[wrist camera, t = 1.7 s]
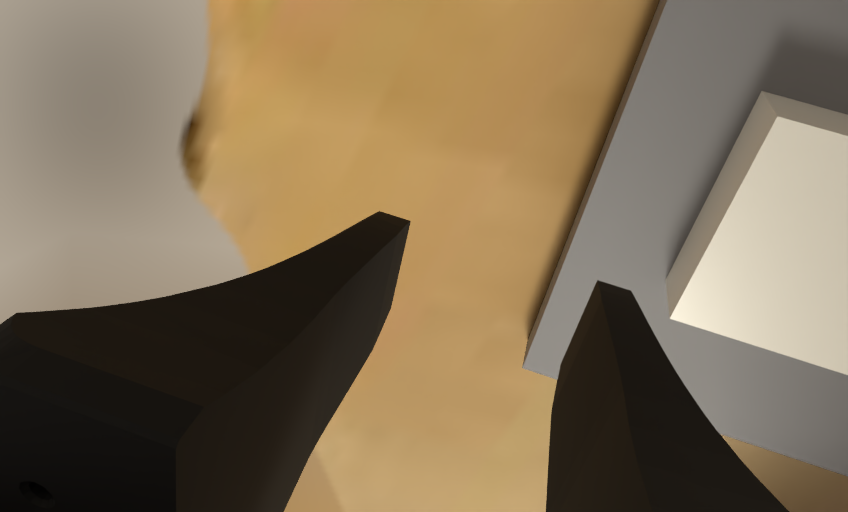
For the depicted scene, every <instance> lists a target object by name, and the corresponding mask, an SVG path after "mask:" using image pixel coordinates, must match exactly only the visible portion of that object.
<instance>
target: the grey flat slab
mask: <svg viewBox="0 0 848 512" xmlns="http://www.w3.org/2000/svg"><path fill="white" fill-rule="evenodd" d="M761 91H764V92H768V93H771V94H775V95H779V96H782V97H786V98H789V99H793V100H796V101H800V102H804V103H807V104H811V105H814V106H818V107H822V108H825V109H829V110H832V111H836V112H840V113H843V114H847V115H848V0H660V1H659V4H658V7H657V9H656V12H655V14H654V17H653V19H652V22H651V25H650V27H649V30H648V32H647V35H646V38H645V40H644V43H643V45H642V48H641V50H640V53H639V56H638V58H637V61H636V63H635V66H634V68H633V71H632V74H631V76H630V79H629V81H628V84H627V86H626V89H625V92H624V94H623V97H622V99H621V102H620V104H619V107H618V110H617V112H616V115H615V117H614V120H613V123H612V125H611V128H610V130H609V133H608V135H607V138H606V141H605V143H604V146H603V148H602V151H601V153H600V156H599V159H598V161H597V164H596V166H595V169H594V171H593V174H592V177H591V179H590V182H589V184H588V187H587V189H586V192H585V195H584V197H583V200H582V202H581V205H580V208H579V210H578V213H577V215H576V218H575V220H574V223H573V226H572V228H571V231H570V233H569V236H568V238H567V241H566V244H565V246H564V249H563V251H562V254H561V256H560V259H559V262H558V264H557V267H556V269H555V272H554V274H553V277H552V280H551V282H550V285H549V287H548V290H547V293H546V295H545V298H544V300H543V303H542V305H541V308H540V311H539V313H538V316H537V318H536V321H535V323H534V326H533V329H532V331H531V334H530V336H529V339H528V341H527V346H526V351H525V357H524V362H523V367H522V368H524V369H527V370H530V371H533V372H536V373H539V374H542V375H545V376H548V377H551V378H554V379H557V380H558V375H559V370H560V365H561V362H562V360H563V358H564V355H565V353H566V351H567V348H568V346H569V344H570V342H571V339H572V337H573V335H574V332H575V330H576V328H577V325H578V323H579V321H580V319H581V316H582V314H583V312H584V309H585V307H586V305H587V303H588V300H589V298H590V296H591V293H592V291H593V289H594V287H595V284H596V282H597V280H599V281H602V282H605V283H608V284H612V285H615V286H618V287H621V288H624V289H627V290H631V291H632V293H633V295H634V297H635V299H636V300H637V302H638V304H639V306H640V308H641V310H642V312H643V314H644V316H645V318H646V319H647V321H648V323H649V325H650V327H651V329H652V331H653V332H654V334H655V336H656V338H657V340H658V342H659V343H660V345H661V347H662V349H663V350H664V352H665V354H666V356H667V357H668V359H669V361H670V362H671V364H672V366H673V367H674V369H675V371H676V372H677V374H678V375H679V377H680V379H681V380H682V382H683V383H684V385H685V386H686V388H687V389H688V391H689V392H690V394H691V395H692V397H693V398H694V400H695V401H696V403H697V404H698V405H699V407H700V408H701V410H702V411H703V413H704V414H705V415H706V417H707V418H708V419H709V421H710V422H711V424H712V425H713V426H714V428H715V429H716V430H717V431H718V433H719V434H722V435H725V436H728V437H731V438H734V439H737V440H740V441H743V442H746V443H749V444H752V445H755V446H758V447H761V448H764V449H767V450H770V451H773V452H776V453H779V454H782V455H785V456H788V457H791V458H794V459H797V460H800V461H803V462H806V463H809V464H812V465H815V466H818V467H821V468H824V469H827V470H830V471H833V472H836V473H839V474H842V475H845V476H848V375H846V374H842V373H839V372H836V371H833V370H830V369H827V368H823V367H820V366H817V365H814V364H811V363H808V362H805V361H801V360H798V359H795V358H792V357H789V356H786V355H783V354H779V353H776V352H773V351H770V350H767V349H764V348H761V347H757V346H754V345H751V344H748V343H745V342H742V341H739V340H735V339H732V338H729V337H726V336H723V335H720V334H716V333H713V332H710V331H707V330H704V329H701V328H698V327H694V326H691V325H688V324H685V323H682V322H679V321H676V320H672V319H670V317H669V308H668V299H667V290H666V281H665V280H666V278H667V276H668V274H669V272H670V270H671V268H672V266H673V264H674V263H675V261H676V259H677V257H678V255H679V253H680V251H681V249H682V247H683V245H684V243H685V241H686V239H687V237H688V235H689V233H690V231H691V229H692V227H693V225H694V223H695V221H696V219H697V217H698V215H699V213H700V211H701V209H702V207H703V205H704V203H705V201H706V199H707V198H708V196H709V194H710V192H711V190H712V188H713V186H714V184H715V182H716V180H717V178H718V176H719V174H720V172H721V170H722V168H723V166H724V164H725V162H726V160H727V158H728V156H729V154H730V152H731V150H732V148H733V146H734V144H735V142H736V140H737V138H738V136H739V134H740V133H741V131H742V129H743V127H744V125H745V123H746V121H747V119H748V117H749V115H750V113H751V111H752V109H753V107H754V105H755V103H756V101H757V99H758V97H759V95H760V93H761Z"/></svg>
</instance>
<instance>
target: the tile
mask: <svg viewBox="0 0 848 512" xmlns="http://www.w3.org/2000/svg"><path fill="white" fill-rule="evenodd" d="M665 281H666V290H667V299H668V308H669V317H670V319H672V320H676V321H679V322H682V323H685V324H688V325H691V326H694V327H698V328H701V329H704V330H707V331H710V332H713V333H716V334H720V335H723V336H726V337H729V338H732V339H735V340H739V341H742V342H745V343H748V344H751V345H754V346H757V347H761V348H764V349H767V350H770V351H773V352H776V353H779V354H783V355H786V356H789V357H792V358H795V359H798V360H801V361H805V362H808V363H811V364H814V365H817V366H820V367H823V368H827V369H830V370H833V371H836V372H839V373H842V374H846V375H848V115H847V114H843V113H840V112H836V111H832V110H829V109H825V108H822V107H818V106H814V105H811V104H807V103H804V102H800V101H796V100H793V99H789V98H786V97H782V96H779V95H775V94H771V93H768V92H764V91H761V93H760V95H759V97H758V99H757V101H756V103H755V105H754V107H753V109H752V111H751V113H750V115H749V117H748V119H747V121H746V123H745V125H744V127H743V129H742V131H741V133H740V134H739V136H738V138H737V140H736V142H735V144H734V146H733V148H732V150H731V152H730V154H729V156H728V158H727V160H726V162H725V164H724V166H723V168H722V170H721V172H720V174H719V176H718V178H717V180H716V182H715V184H714V186H713V188H712V190H711V192H710V194H709V196H708V198H707V199H706V201H705V203H704V205H703V207H702V209H701V211H700V213H699V215H698V217H697V219H696V221H695V223H694V225H693V227H692V229H691V231H690V233H689V235H688V237H687V239H686V241H685V243H684V245H683V247H682V249H681V251H680V253H679V255H678V257H677V259H676V261H675V263H674V264H673V266H672V268H671V270H670V272H669V274H668V276H667V278H666V280H665Z"/></svg>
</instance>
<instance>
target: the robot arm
mask: <svg viewBox="0 0 848 512" xmlns="http://www.w3.org/2000/svg"><path fill="white" fill-rule="evenodd" d="M409 226H410V221H409V220H405V219H402V218H399V217H396V216H393V215H390V214H386V213H383V212H380V211H379V212H377V213H375V214H373V215H371V216H369V217H367V218H366V219H364V220H362V221H360V222H358V223H357V224H355V225H353V226H351V227H350V228H348V229H346V230H344V231H342V232H341V233H339V234H337V235H335V236H333V237H332V238H330V239H328V240H326V241H324V242H322V243H320V244H318V245H316V246H314V247H312V248H310V249H308V250H306V251H304V252H302V253H300V254H298V255H295V256H293V257H291V258H289V259H286V260H284V261H282V262H280V263H277V264H275V265H273V266H270V267H268V268H265V269H263V270H260V271H257V272H254V273H252V274H249V275H246V276H243V277H240V278H236V279H233V280H230V281H227V282H224V283H220V284H217V285H213V286H209V287H205V288H201V289H196V290H192V291H188V292H184V293H180V294H175V295H172V296H166V297H162V298H156V299H150V300H145V301H139V302H132V303H126V304H118V305H110V306H103V307H94V308H83V309H70V310H56V311H43V312H25V313H16V314H14V315H13V316H12V317H10V318H9V319H7V320H6V321H4V322H3V323H2V324H0V512H284V510H285V507H286V505H287V503H288V501H289V499H290V497H291V495H292V492H293V490H294V488H295V486H296V484H297V482H298V480H299V477H300V475H301V473H302V471H303V469H304V467H305V465H306V462H307V460H308V458H309V456H310V454H311V453H312V451H313V449H314V447H315V445H316V444H317V442H318V440H319V438H320V436H321V435H322V433H323V431H324V430H325V428H326V426H327V425H328V423H329V421H330V420H331V418H332V417H333V415H334V413H335V412H336V410H337V408H338V407H339V405H340V403H341V402H342V400H343V398H344V397H345V395H346V393H347V392H348V390H349V388H350V387H351V385H352V383H353V382H354V380H355V378H356V377H357V375H358V373H359V372H360V370H361V368H362V367H363V365H364V363H365V362H366V360H367V358H368V357H369V355H370V353H371V352H372V350H373V348H374V345H375V343H376V341H377V339H378V336H379V334H380V332H381V330H382V327H383V325H384V323H385V320H386V318H387V316H388V313H389V311H390V309H391V305H392V301H393V296H394V292H395V287H396V283H397V279H398V274H399V270H400V265H401V261H402V257H403V252H404V248H405V243H406V239H407V235H408V230H409ZM546 512H789V511H788V510H787V509H786V508H785V507H784V506H783V505H782V504H781V503H780V502H779V501H778V500H777V499H776V498H775V497H774V495H773V494H772V493H771V492H770V491H769V490H768V489H767V488H766V487H765V486H764V485H763V484H762V483H761V482H760V481H759V480H758V479H757V478H756V477H755V475H754V474H753V473H752V472H751V471H750V470H749V469H748V468H747V466H746V465H745V464H744V463H743V462H742V461H741V460H740V458H739V457H738V456H737V455H736V453H735V452H734V451H733V450H732V449H731V447H730V446H729V445H728V444H727V442H726V441H725V440H724V439H723V437H722V436H721V435H720V434H719V433H718V431H717V430H716V429H715V428H714V426H713V425H712V424H711V422H710V421H709V419H708V418H707V417H706V415H705V414H704V413H703V411H702V410H701V408H700V407H699V405H698V404H697V403H696V401H695V400H694V398H693V397H692V395H691V394H690V392H689V391H688V389H687V388H686V386H685V385H684V383H683V382H682V380H681V379H680V377H679V375H678V374H677V372H676V371H675V369H674V367H673V366H672V364H671V362H670V361H669V359H668V357H667V356H666V354H665V352H664V350H663V349H662V347H661V345H660V343H659V342H658V340H657V338H656V336H655V334H654V332H653V331H652V329H651V327H650V325H649V323H648V321H647V319H646V318H645V316H644V314H643V312H642V310H641V308H640V306H639V304H638V302H637V300H636V299H635V297H634V295H633V293H632V291H631V290H627V289H624V288H621V287H618V286H615V285H612V284H608V283H605V282H602V281H599V280H597V282H596V284H595V287H594V289H593V291H592V293H591V296H590V298H589V300H588V303H587V305H586V307H585V309H584V312H583V314H582V316H581V319H580V321H579V323H578V325H577V328H576V330H575V332H574V335H573V337H572V339H571V342H570V344H569V346H568V348H567V351H566V353H565V355H564V358H563V360H562V362H561V365H560V370H559V375H558V380H557V385H556V390H555V396H554V401H553V406H552V414H551V430H550V446H549V465H548V483H547V501H546Z"/></svg>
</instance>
